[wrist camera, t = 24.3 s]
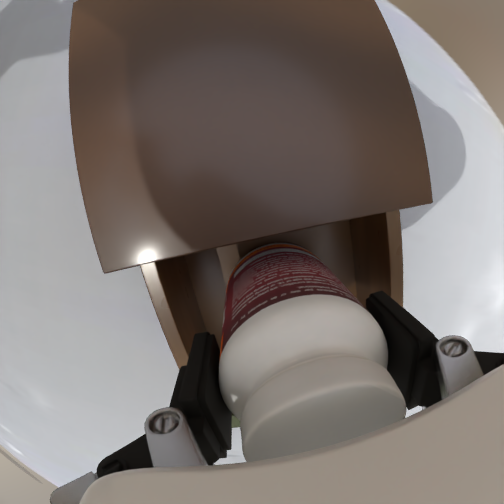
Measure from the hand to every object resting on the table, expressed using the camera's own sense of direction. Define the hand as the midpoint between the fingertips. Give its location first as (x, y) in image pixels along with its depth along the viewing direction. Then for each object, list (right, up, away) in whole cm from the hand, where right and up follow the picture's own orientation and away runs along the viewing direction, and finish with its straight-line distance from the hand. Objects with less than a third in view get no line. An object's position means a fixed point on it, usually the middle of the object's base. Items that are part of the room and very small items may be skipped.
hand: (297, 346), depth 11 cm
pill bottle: (0, +2, +6) cm, 6 cm away
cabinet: (-3, +13, +6) cm, 15 cm away
